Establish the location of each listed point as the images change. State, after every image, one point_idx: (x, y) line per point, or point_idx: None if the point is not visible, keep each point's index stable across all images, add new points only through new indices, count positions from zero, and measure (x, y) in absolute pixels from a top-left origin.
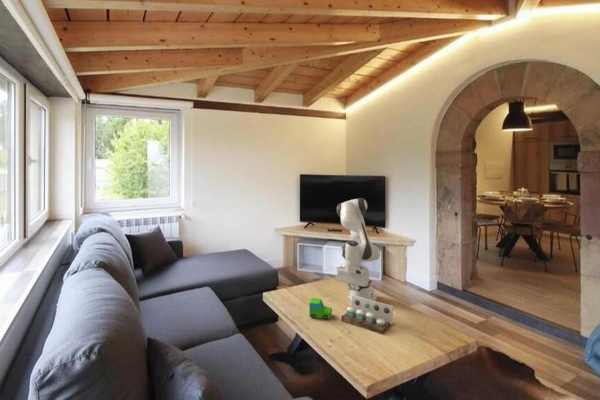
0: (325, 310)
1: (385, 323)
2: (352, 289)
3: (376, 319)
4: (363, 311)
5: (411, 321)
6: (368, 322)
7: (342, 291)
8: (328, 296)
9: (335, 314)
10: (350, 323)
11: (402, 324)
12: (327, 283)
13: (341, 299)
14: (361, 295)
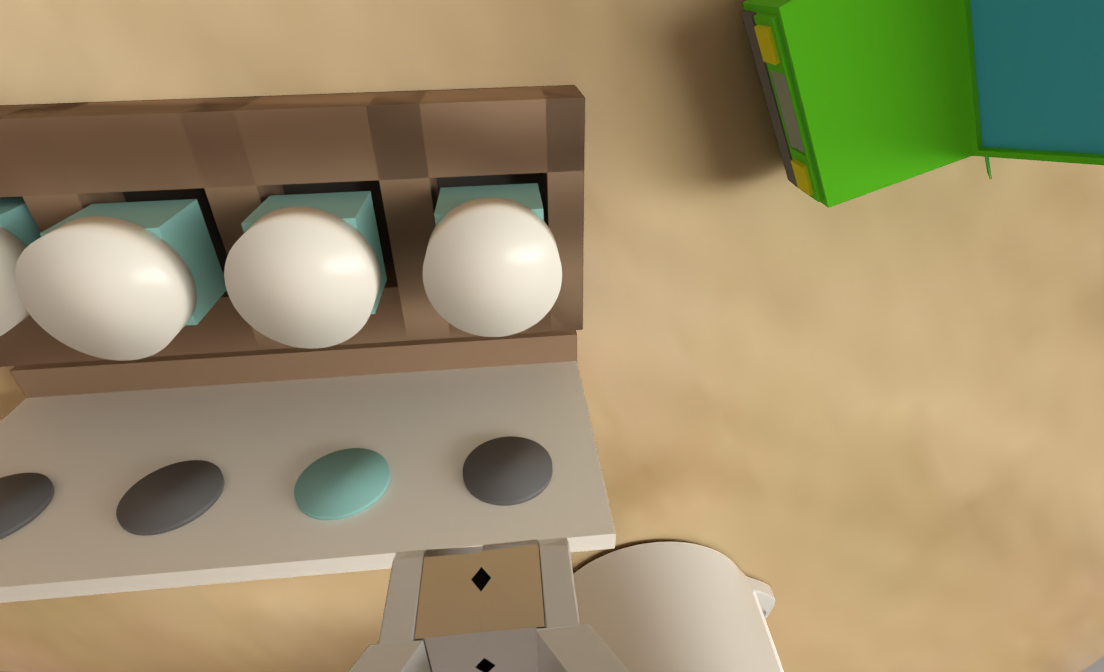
0: (892, 15)
1: None
2: (412, 588)
3: None
4: (257, 308)
5: None
6: None
7: (861, 632)
8: (958, 507)
9: (735, 213)
10: (419, 92)
11: None
12: (1028, 661)
13: (814, 528)
14: (624, 645)
